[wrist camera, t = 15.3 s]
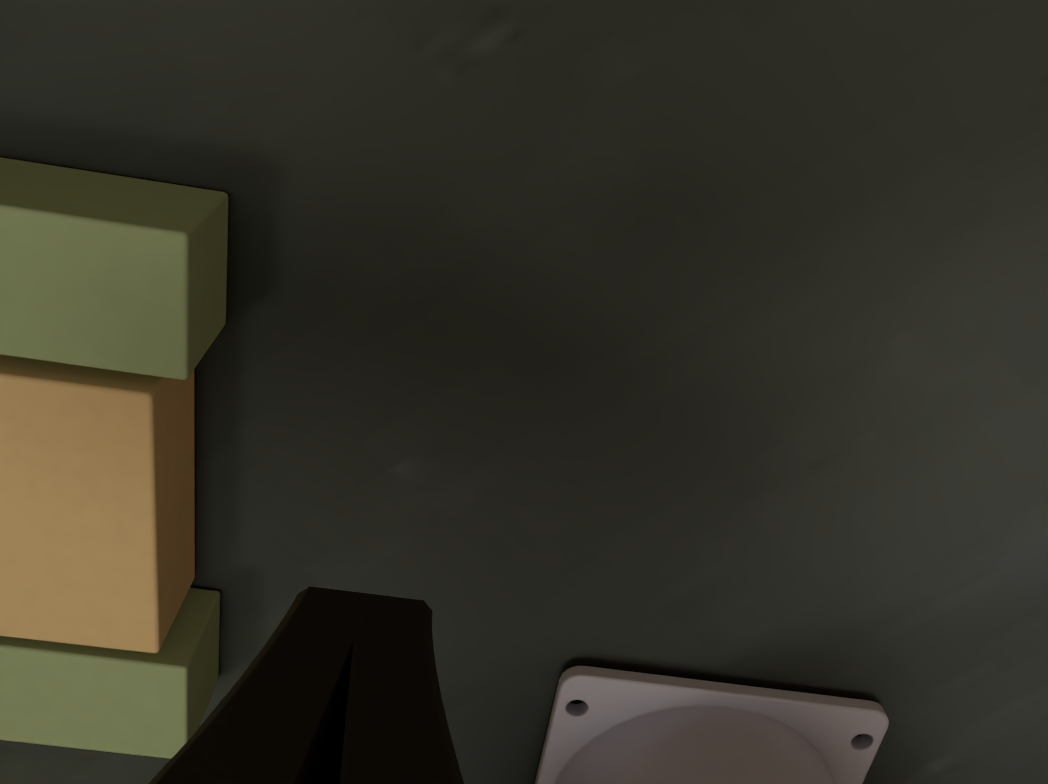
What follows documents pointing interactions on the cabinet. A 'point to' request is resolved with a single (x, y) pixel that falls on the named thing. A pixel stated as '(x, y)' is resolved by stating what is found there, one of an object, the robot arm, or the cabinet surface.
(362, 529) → the cabinet surface
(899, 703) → the cabinet surface
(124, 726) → the green pad
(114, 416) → the beige block
